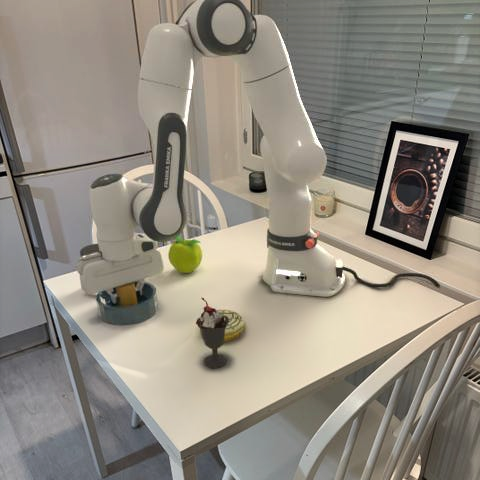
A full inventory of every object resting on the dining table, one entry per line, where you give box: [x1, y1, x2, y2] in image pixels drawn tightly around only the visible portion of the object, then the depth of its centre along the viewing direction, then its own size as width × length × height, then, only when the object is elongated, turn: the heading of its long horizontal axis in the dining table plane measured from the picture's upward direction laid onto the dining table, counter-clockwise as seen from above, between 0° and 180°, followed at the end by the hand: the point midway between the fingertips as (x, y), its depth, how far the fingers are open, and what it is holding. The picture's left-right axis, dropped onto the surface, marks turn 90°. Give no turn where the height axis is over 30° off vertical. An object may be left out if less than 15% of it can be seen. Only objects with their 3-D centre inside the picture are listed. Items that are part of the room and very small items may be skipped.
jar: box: [79, 243, 99, 296], centre depth 131 cm, size 9×8×12 cm
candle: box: [116, 282, 138, 307], centre depth 121 cm, size 5×5×8 cm
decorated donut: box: [198, 308, 246, 342], centre depth 113 cm, size 10×11×4 cm
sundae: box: [195, 297, 229, 369], centre depth 100 cm, size 7×7×15 cm
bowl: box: [95, 281, 159, 326], centre depth 122 cm, size 15×15×5 cm
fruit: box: [167, 236, 203, 274], centre depth 140 cm, size 9×9×10 cm
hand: (127, 298), depth 122 cm, fingers closed on candle, 4 cm apart
